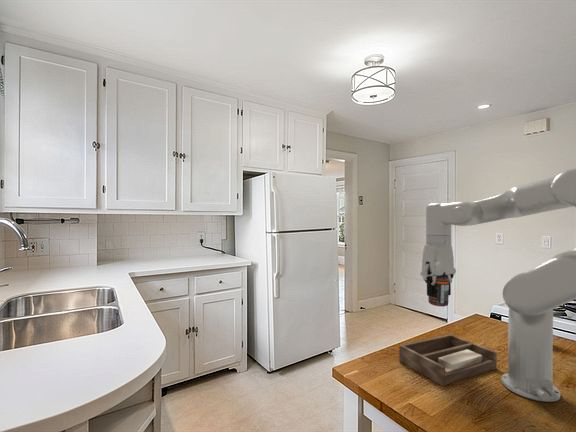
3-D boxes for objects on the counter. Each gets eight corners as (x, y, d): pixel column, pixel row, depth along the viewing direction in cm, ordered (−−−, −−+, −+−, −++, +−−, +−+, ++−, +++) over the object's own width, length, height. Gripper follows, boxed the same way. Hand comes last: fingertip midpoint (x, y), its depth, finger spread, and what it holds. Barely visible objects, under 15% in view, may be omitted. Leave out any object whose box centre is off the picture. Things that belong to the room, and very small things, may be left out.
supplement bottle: (424, 302, 101) (424, 269, 101) (436, 300, 103) (437, 267, 103) (439, 308, 95) (440, 272, 95) (452, 305, 98) (453, 271, 98)
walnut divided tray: (496, 368, 94) (496, 352, 94) (442, 385, 84) (442, 367, 84) (450, 347, 108) (450, 333, 108) (399, 360, 98) (399, 345, 98)
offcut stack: (484, 369, 94) (484, 354, 94) (446, 382, 86) (446, 367, 86) (468, 361, 99) (468, 348, 99) (430, 374, 91) (430, 359, 91)
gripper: (446, 239, 106) (446, 290, 106) (410, 240, 99) (410, 295, 99) (466, 240, 100) (466, 295, 99) (429, 242, 92) (429, 301, 92)
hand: (438, 294), depth 99 cm, fingers closed on supplement bottle, 6 cm apart
